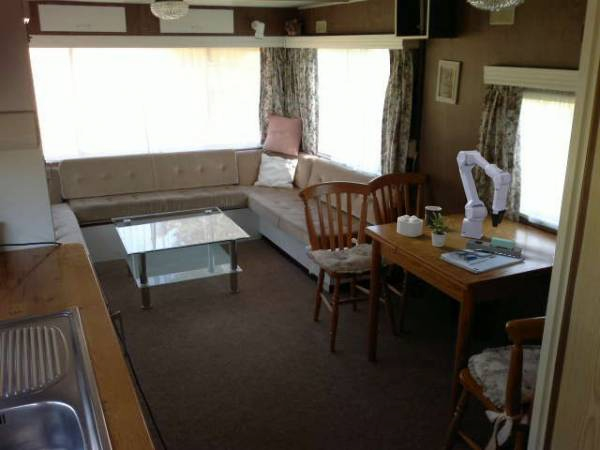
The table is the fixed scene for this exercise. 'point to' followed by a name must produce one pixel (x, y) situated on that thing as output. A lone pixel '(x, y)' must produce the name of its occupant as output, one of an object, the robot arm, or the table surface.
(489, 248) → the rail
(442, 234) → the house plant
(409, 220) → the lumpy-topped squat cylinder
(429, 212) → the coffee mug
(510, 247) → the teal rectangular block
